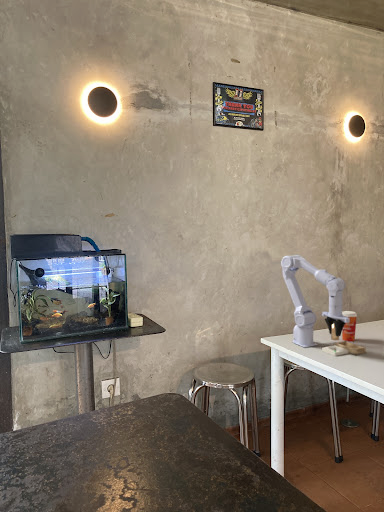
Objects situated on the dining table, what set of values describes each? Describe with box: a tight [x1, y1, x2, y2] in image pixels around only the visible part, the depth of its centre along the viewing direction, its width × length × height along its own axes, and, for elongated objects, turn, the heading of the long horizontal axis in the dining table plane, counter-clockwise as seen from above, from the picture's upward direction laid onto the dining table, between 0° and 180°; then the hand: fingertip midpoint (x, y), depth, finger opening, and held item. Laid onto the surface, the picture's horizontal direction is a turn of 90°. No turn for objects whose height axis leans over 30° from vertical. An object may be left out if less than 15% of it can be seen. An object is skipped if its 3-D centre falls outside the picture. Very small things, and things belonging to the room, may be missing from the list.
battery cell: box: [330, 323, 340, 341], centre depth 173 cm, size 3×3×8 cm
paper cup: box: [341, 310, 358, 343], centre depth 191 cm, size 8×8×14 cm
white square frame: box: [321, 344, 349, 357], centre depth 174 cm, size 8×8×2 cm
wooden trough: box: [334, 340, 367, 356], centre depth 176 cm, size 12×6×2 cm, turn 24°
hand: (335, 334), depth 173 cm, fingers closed on battery cell, 3 cm apart
